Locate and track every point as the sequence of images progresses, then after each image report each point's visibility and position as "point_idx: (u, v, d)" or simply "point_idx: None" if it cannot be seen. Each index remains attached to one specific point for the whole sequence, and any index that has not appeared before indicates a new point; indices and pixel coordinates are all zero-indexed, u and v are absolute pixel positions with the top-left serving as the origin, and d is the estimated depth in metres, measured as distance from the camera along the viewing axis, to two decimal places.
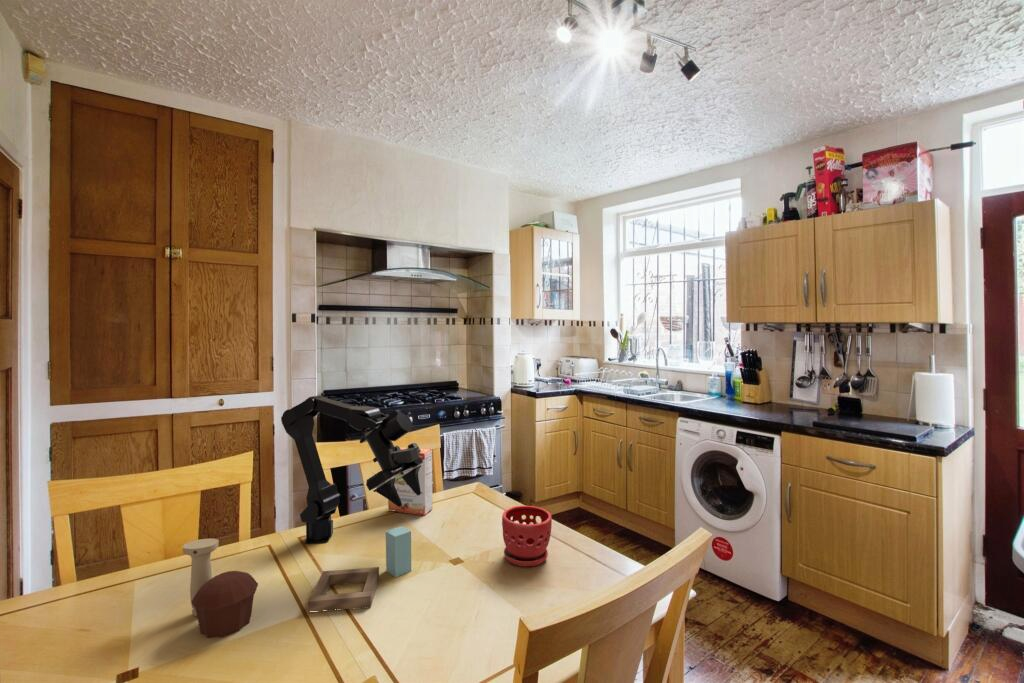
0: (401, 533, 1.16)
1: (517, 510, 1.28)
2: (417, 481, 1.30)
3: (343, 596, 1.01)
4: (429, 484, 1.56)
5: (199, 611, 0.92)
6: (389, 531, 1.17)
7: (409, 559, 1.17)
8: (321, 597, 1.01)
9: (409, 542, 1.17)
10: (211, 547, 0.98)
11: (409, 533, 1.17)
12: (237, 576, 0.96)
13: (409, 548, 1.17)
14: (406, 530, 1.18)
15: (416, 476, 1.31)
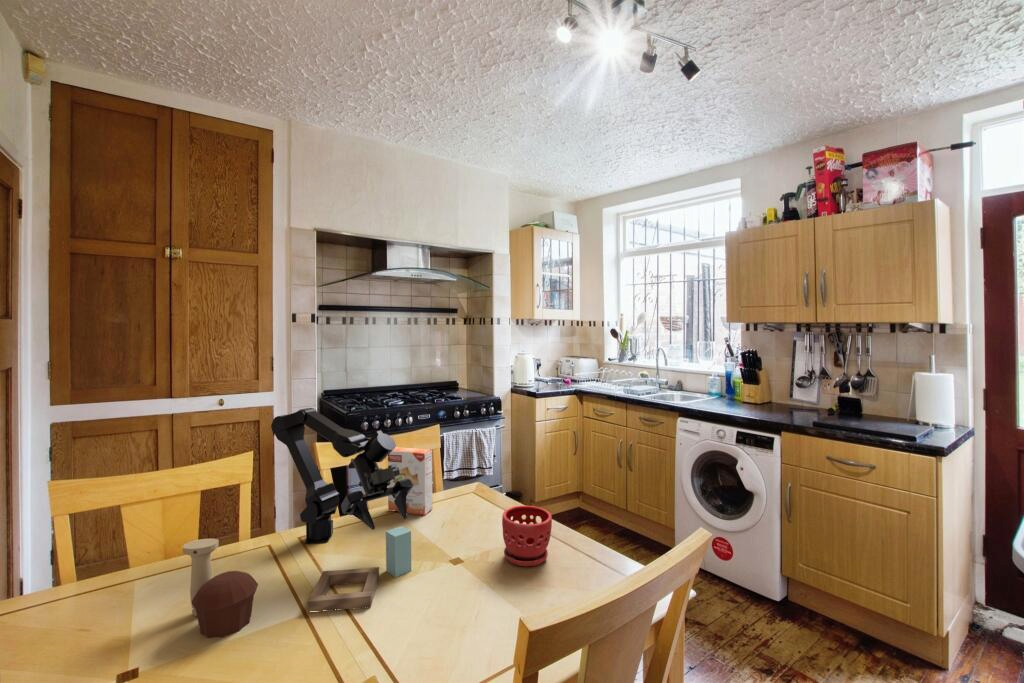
0: (401, 533, 1.16)
1: (517, 510, 1.28)
2: (403, 504, 1.25)
3: (343, 596, 1.01)
4: (429, 484, 1.56)
5: (199, 611, 0.92)
6: (389, 531, 1.17)
7: (409, 559, 1.17)
8: (321, 597, 1.01)
9: (409, 542, 1.17)
10: (211, 547, 0.98)
11: (409, 533, 1.17)
12: (237, 576, 0.96)
13: (409, 548, 1.17)
14: (406, 530, 1.18)
15: (403, 499, 1.26)
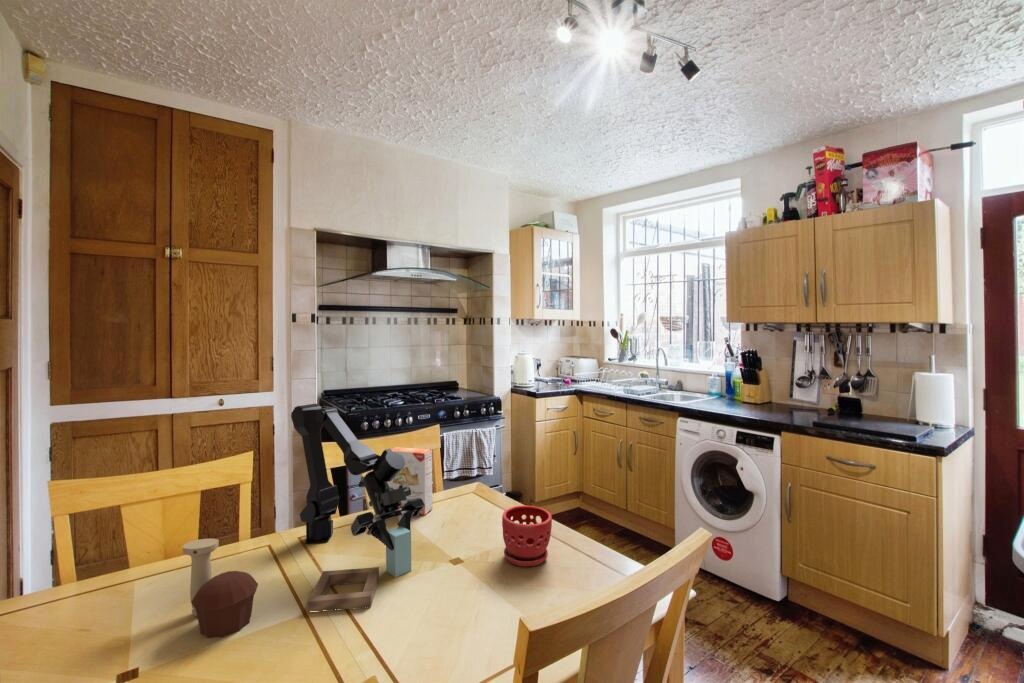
0: (401, 533, 1.16)
1: (517, 510, 1.28)
2: (407, 528, 1.19)
3: (343, 596, 1.01)
4: (429, 484, 1.56)
5: (199, 611, 0.92)
6: (389, 531, 1.17)
7: (409, 559, 1.17)
8: (321, 597, 1.01)
9: (409, 542, 1.17)
10: (211, 547, 0.98)
11: (409, 533, 1.17)
12: (237, 576, 0.96)
13: (409, 548, 1.17)
14: (406, 530, 1.17)
15: (407, 522, 1.20)
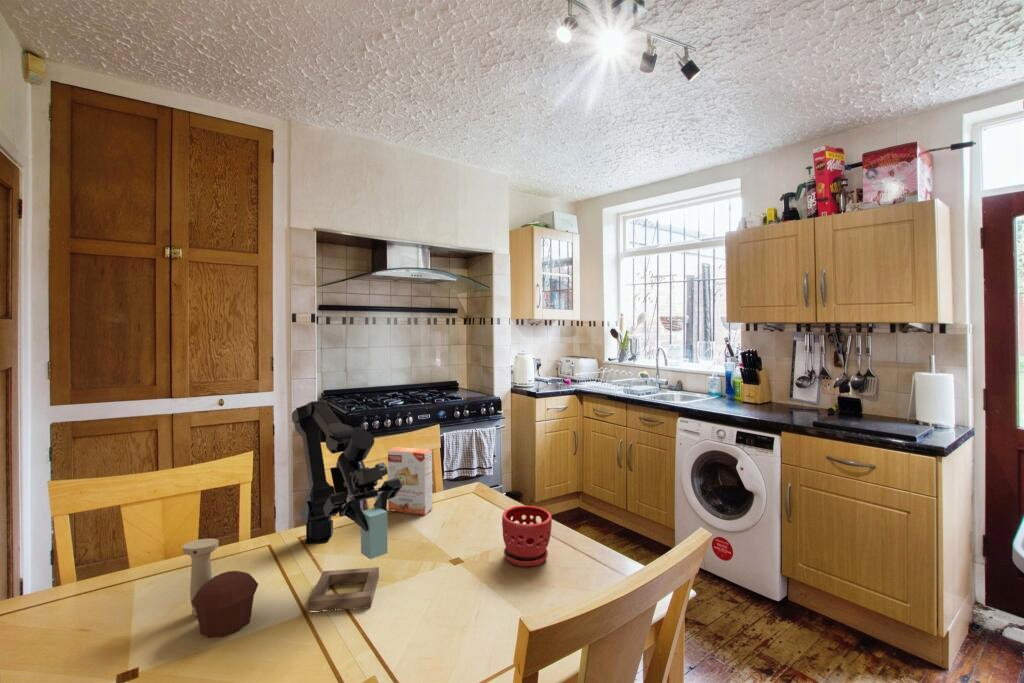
0: (377, 513, 1.11)
1: (517, 510, 1.28)
2: (383, 509, 1.14)
3: (343, 596, 1.01)
4: (429, 484, 1.56)
5: (199, 611, 0.92)
6: (364, 511, 1.12)
7: (385, 541, 1.12)
8: (321, 597, 1.01)
9: (385, 523, 1.12)
10: (211, 547, 0.98)
11: (385, 513, 1.12)
12: (237, 576, 0.96)
13: (385, 529, 1.12)
14: (382, 510, 1.12)
15: (383, 503, 1.15)
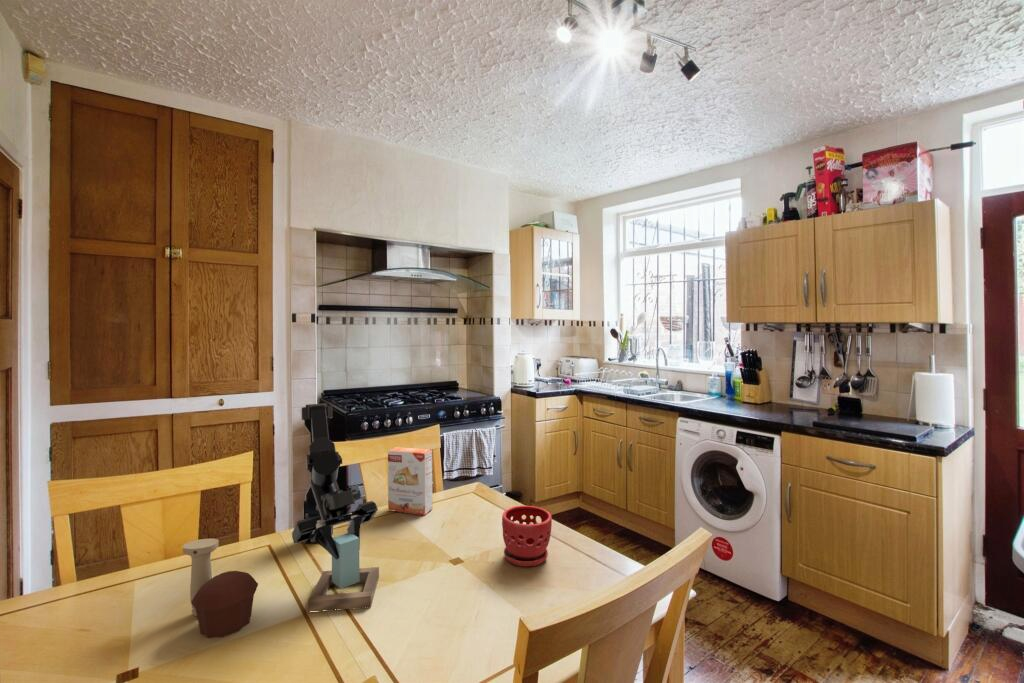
0: (348, 540, 1.05)
1: (517, 510, 1.28)
2: (356, 534, 1.09)
3: (343, 596, 1.01)
4: (429, 484, 1.56)
5: (199, 611, 0.92)
6: (335, 538, 1.07)
7: (357, 569, 1.06)
8: (321, 597, 1.01)
9: (357, 550, 1.06)
10: (211, 547, 0.98)
11: (357, 540, 1.06)
12: (237, 576, 0.96)
13: (357, 557, 1.06)
14: (354, 537, 1.07)
15: (356, 528, 1.10)
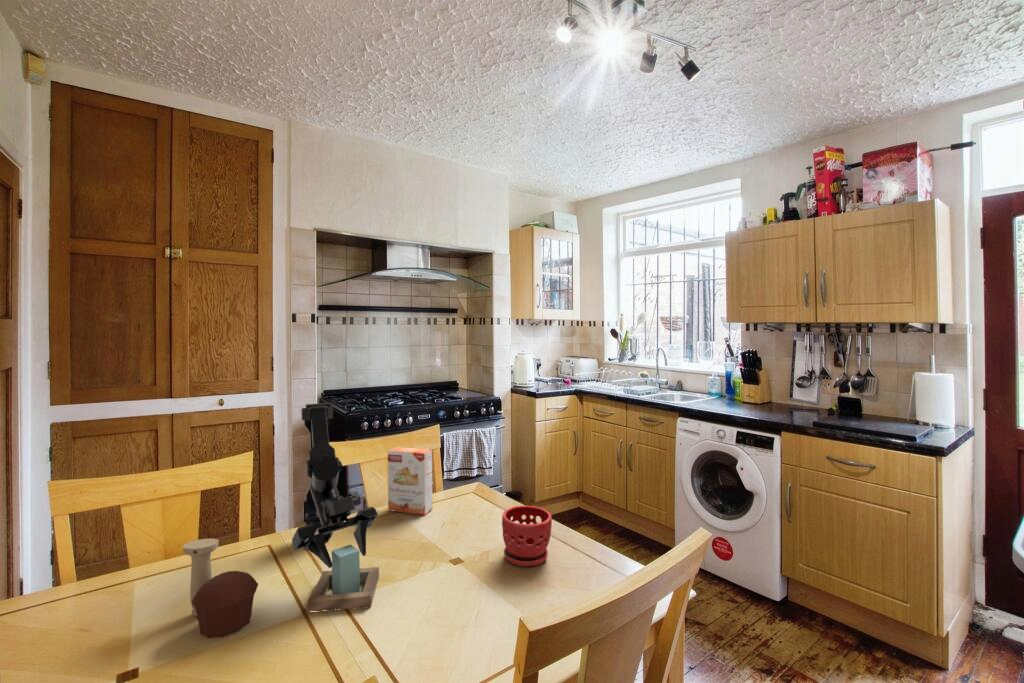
0: (348, 553, 1.05)
1: (517, 510, 1.28)
2: (362, 538, 1.10)
3: (343, 596, 1.01)
4: (429, 484, 1.56)
5: (199, 611, 0.92)
6: (335, 550, 1.07)
7: (357, 581, 1.06)
8: (321, 597, 1.01)
9: (357, 563, 1.06)
10: (211, 547, 0.98)
11: (357, 553, 1.06)
12: (237, 576, 0.96)
13: (357, 569, 1.06)
14: (354, 549, 1.07)
15: (362, 532, 1.11)
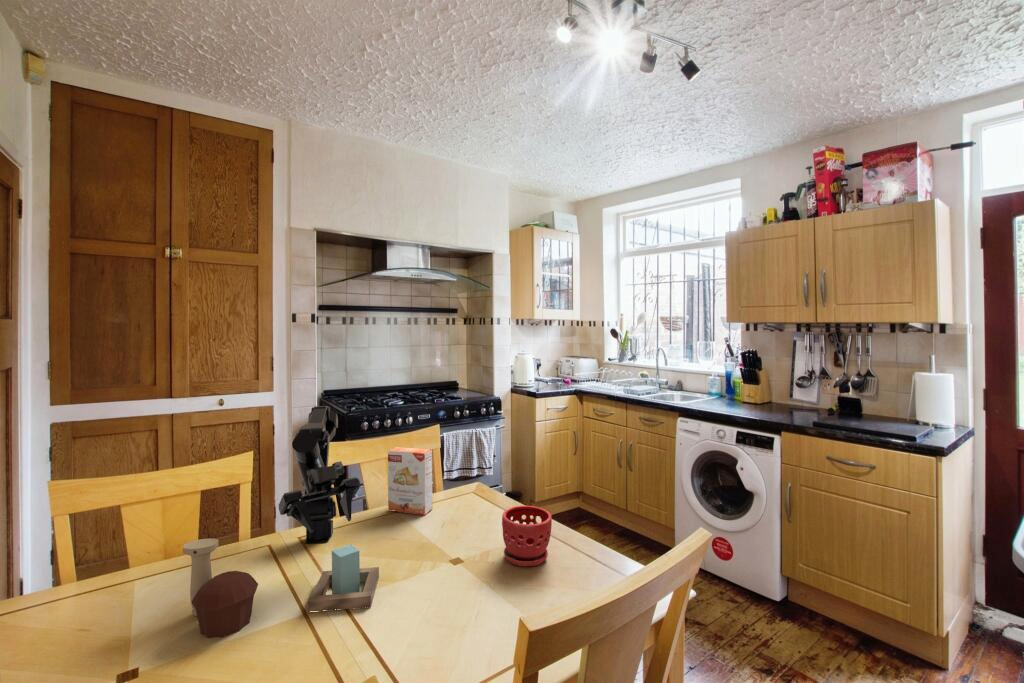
0: (348, 553, 1.05)
1: (517, 510, 1.28)
2: (348, 505, 1.17)
3: (343, 596, 1.01)
4: (429, 484, 1.56)
5: (199, 611, 0.92)
6: (335, 550, 1.07)
7: (357, 581, 1.06)
8: (321, 597, 1.01)
9: (357, 562, 1.06)
10: (211, 547, 0.98)
11: (357, 553, 1.06)
12: (237, 576, 0.96)
13: (357, 569, 1.06)
14: (354, 549, 1.07)
15: (348, 499, 1.17)
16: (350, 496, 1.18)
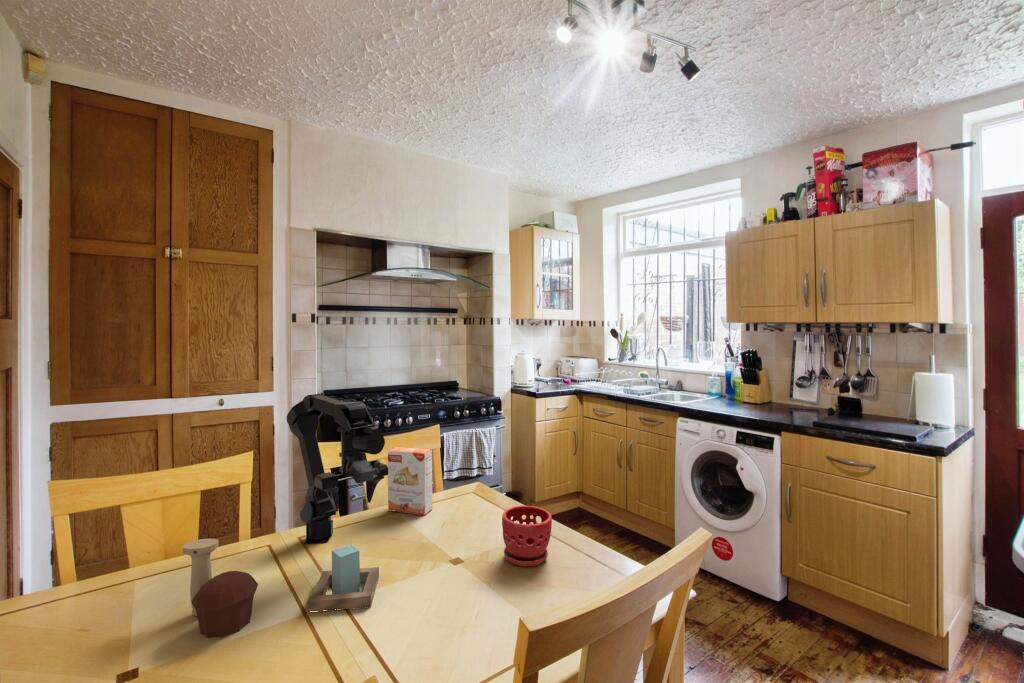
0: (348, 553, 1.05)
1: (517, 510, 1.28)
2: (372, 490, 1.29)
3: (343, 596, 1.01)
4: (429, 484, 1.56)
5: (199, 611, 0.92)
6: (335, 550, 1.07)
7: (357, 581, 1.06)
8: (321, 597, 1.01)
9: (357, 563, 1.06)
10: (211, 547, 0.98)
11: (357, 553, 1.06)
12: (237, 576, 0.96)
13: (357, 569, 1.06)
14: (354, 549, 1.07)
15: (373, 485, 1.29)
16: (376, 483, 1.29)
